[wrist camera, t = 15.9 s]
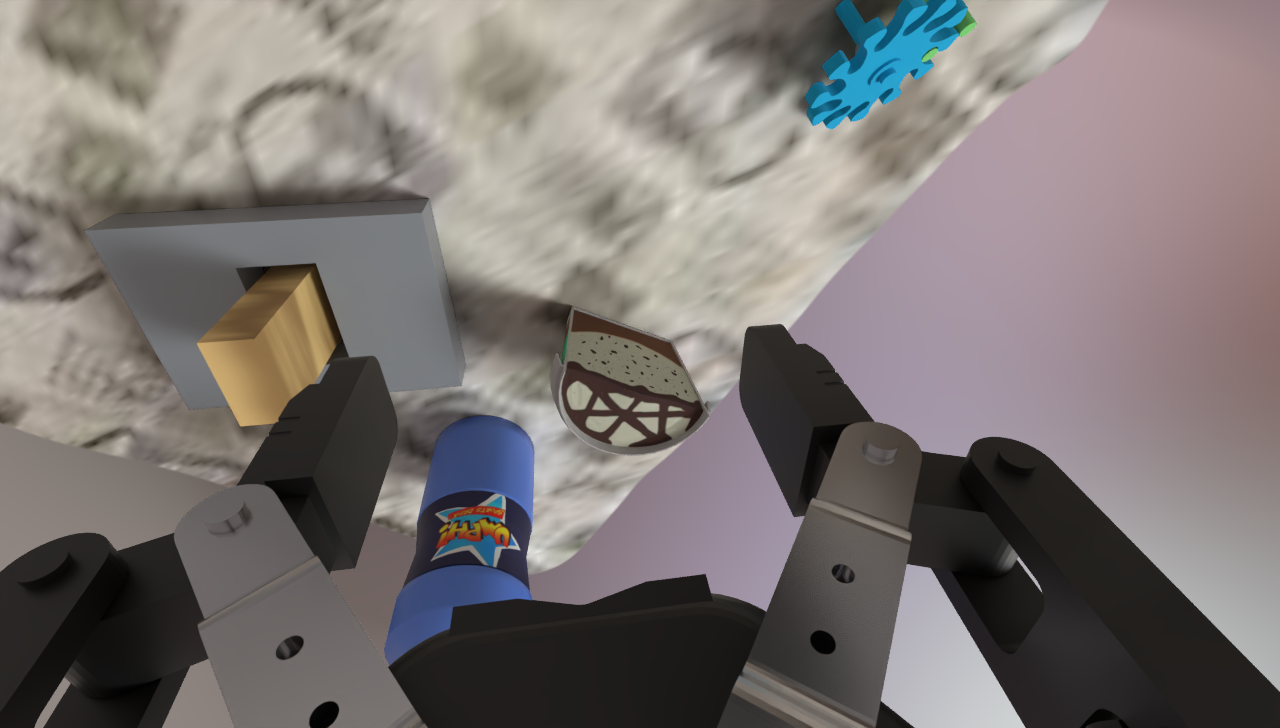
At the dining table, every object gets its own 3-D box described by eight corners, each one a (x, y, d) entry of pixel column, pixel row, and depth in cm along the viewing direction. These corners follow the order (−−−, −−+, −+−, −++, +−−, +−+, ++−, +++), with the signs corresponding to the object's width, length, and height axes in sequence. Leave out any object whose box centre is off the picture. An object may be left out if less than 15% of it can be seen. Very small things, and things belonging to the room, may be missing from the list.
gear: (797, 156, 39) (842, 52, 30) (759, 88, 40) (790, -34, 31) (937, 93, 40) (1027, -30, 30) (895, 28, 41) (969, -111, 31)
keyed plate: (114, 214, 37) (84, 230, 34) (429, 198, 39) (421, 213, 36) (208, 386, 45) (188, 409, 42) (465, 365, 47) (461, 386, 44)
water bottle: (437, 408, 49) (359, 713, 28) (543, 421, 51) (543, 710, 31) (429, 483, 54) (357, 793, 33) (527, 492, 56) (516, 785, 35)
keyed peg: (303, 334, 43) (240, 426, 34) (274, 262, 40) (196, 343, 31) (344, 331, 44) (292, 421, 35) (319, 260, 40) (254, 338, 31)
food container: (527, 359, 47) (524, 437, 39) (554, 299, 45) (556, 369, 36) (655, 399, 52) (676, 476, 44) (687, 346, 49) (715, 418, 41)
